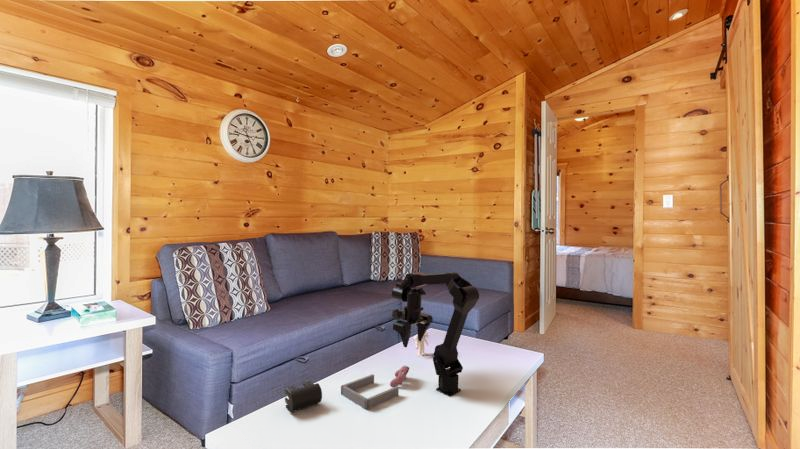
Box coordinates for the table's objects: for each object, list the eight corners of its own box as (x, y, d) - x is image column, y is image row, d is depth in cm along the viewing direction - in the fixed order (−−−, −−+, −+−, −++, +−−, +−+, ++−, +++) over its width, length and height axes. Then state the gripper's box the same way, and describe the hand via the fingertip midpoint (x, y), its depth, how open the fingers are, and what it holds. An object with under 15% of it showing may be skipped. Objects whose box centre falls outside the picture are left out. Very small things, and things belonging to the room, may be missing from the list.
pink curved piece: (399, 392, 137) (408, 376, 136) (388, 385, 138) (397, 369, 137) (404, 381, 147) (413, 365, 146) (394, 374, 148) (402, 359, 147)
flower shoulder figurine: (423, 350, 175) (424, 324, 174) (430, 352, 172) (431, 326, 172) (411, 356, 168) (412, 329, 167) (418, 358, 165) (419, 330, 165)
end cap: (292, 417, 117) (292, 395, 117) (283, 407, 123) (283, 386, 122) (322, 407, 123) (322, 386, 123) (312, 398, 129) (312, 378, 129)
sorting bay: (398, 395, 131) (398, 387, 131) (366, 410, 122) (366, 400, 122) (372, 382, 142) (372, 374, 141) (340, 394, 132) (341, 385, 132)
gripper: (412, 296, 161) (410, 333, 162) (382, 304, 147) (381, 345, 147) (434, 301, 154) (432, 339, 155) (405, 310, 140) (403, 352, 140)
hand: (412, 344), depth 150 cm, fingers open, 9 cm apart
